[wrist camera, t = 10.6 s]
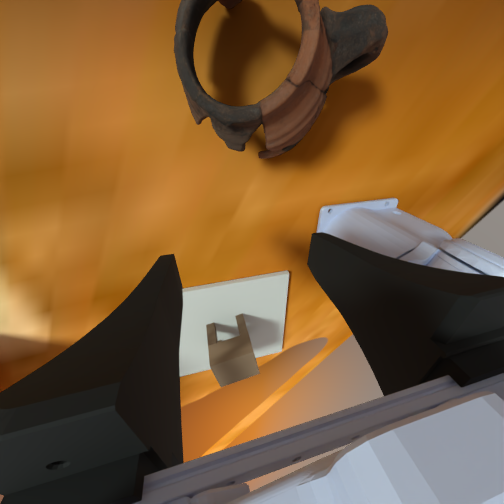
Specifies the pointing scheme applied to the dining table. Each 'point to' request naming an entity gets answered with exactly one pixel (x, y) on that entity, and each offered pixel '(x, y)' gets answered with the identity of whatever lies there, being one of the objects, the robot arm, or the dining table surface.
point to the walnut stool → (231, 355)
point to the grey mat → (233, 316)
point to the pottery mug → (298, 80)
